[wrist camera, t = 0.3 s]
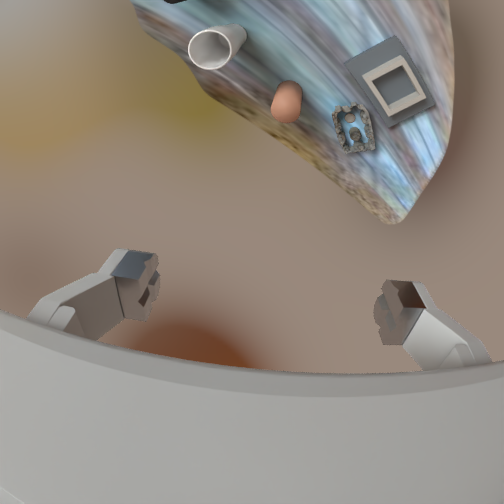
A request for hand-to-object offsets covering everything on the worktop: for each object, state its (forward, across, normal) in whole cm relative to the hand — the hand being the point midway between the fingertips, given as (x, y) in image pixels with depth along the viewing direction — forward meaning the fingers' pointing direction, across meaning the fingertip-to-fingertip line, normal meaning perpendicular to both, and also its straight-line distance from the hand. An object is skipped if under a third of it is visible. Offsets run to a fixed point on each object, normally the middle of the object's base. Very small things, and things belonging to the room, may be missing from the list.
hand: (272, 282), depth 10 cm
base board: (+48, -22, -12) cm, 55 cm away
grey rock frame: (+53, -17, -2) cm, 56 cm away
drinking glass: (+50, +9, -16) cm, 53 cm away
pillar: (+52, -3, -6) cm, 53 cm away
